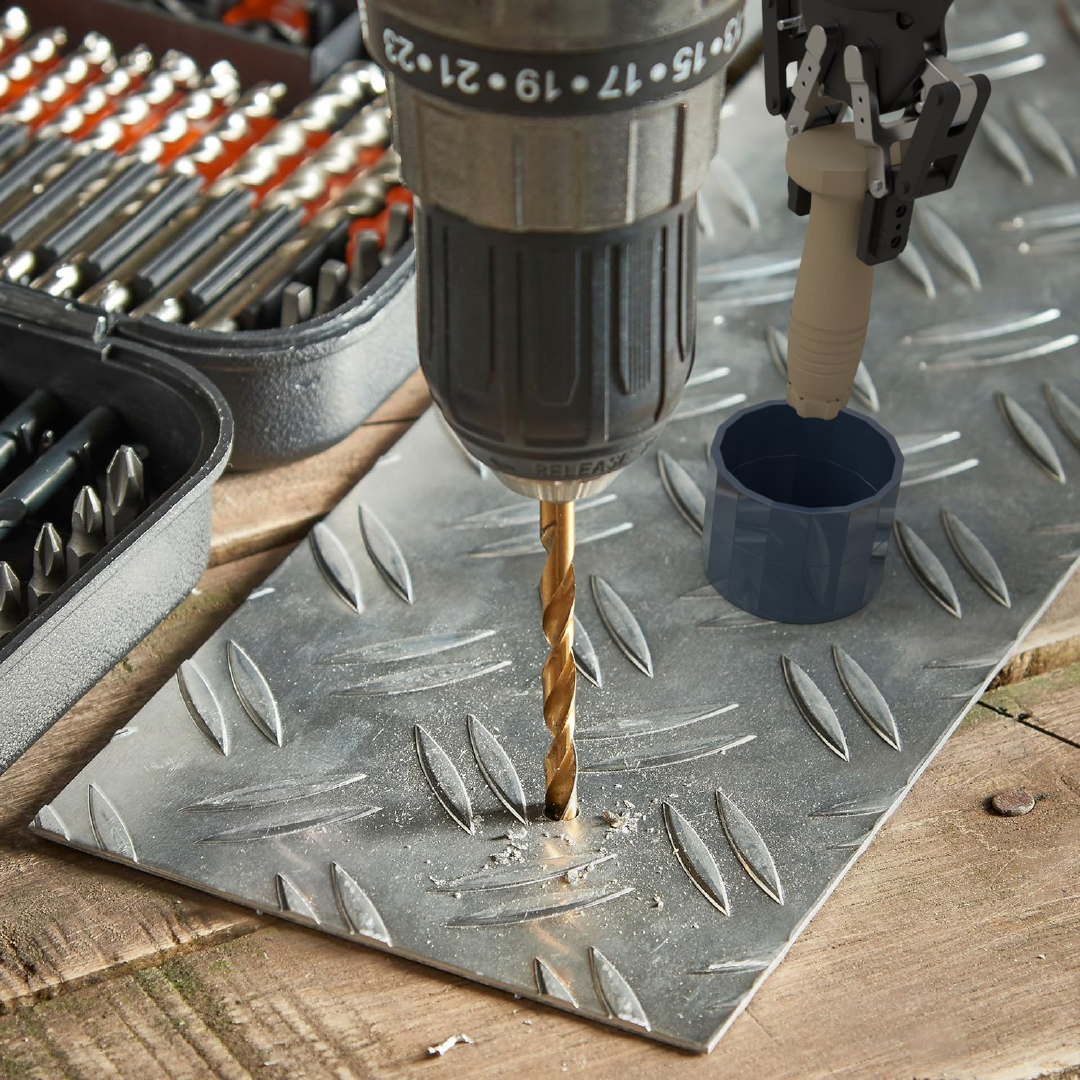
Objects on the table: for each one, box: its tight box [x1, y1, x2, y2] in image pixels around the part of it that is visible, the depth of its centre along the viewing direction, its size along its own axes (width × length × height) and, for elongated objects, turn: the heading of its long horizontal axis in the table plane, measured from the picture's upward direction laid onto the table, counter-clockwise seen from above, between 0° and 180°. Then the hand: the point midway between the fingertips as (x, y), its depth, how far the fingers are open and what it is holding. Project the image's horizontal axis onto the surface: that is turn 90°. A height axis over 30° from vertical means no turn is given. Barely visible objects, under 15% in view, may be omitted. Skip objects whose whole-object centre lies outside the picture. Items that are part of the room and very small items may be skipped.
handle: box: [784, 121, 901, 420], centre depth 77 cm, size 5×6×15 cm
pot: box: [700, 398, 906, 625], centre depth 87 cm, size 10×10×8 cm
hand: (842, 232), depth 75 cm, fingers closed on handle, 5 cm apart
